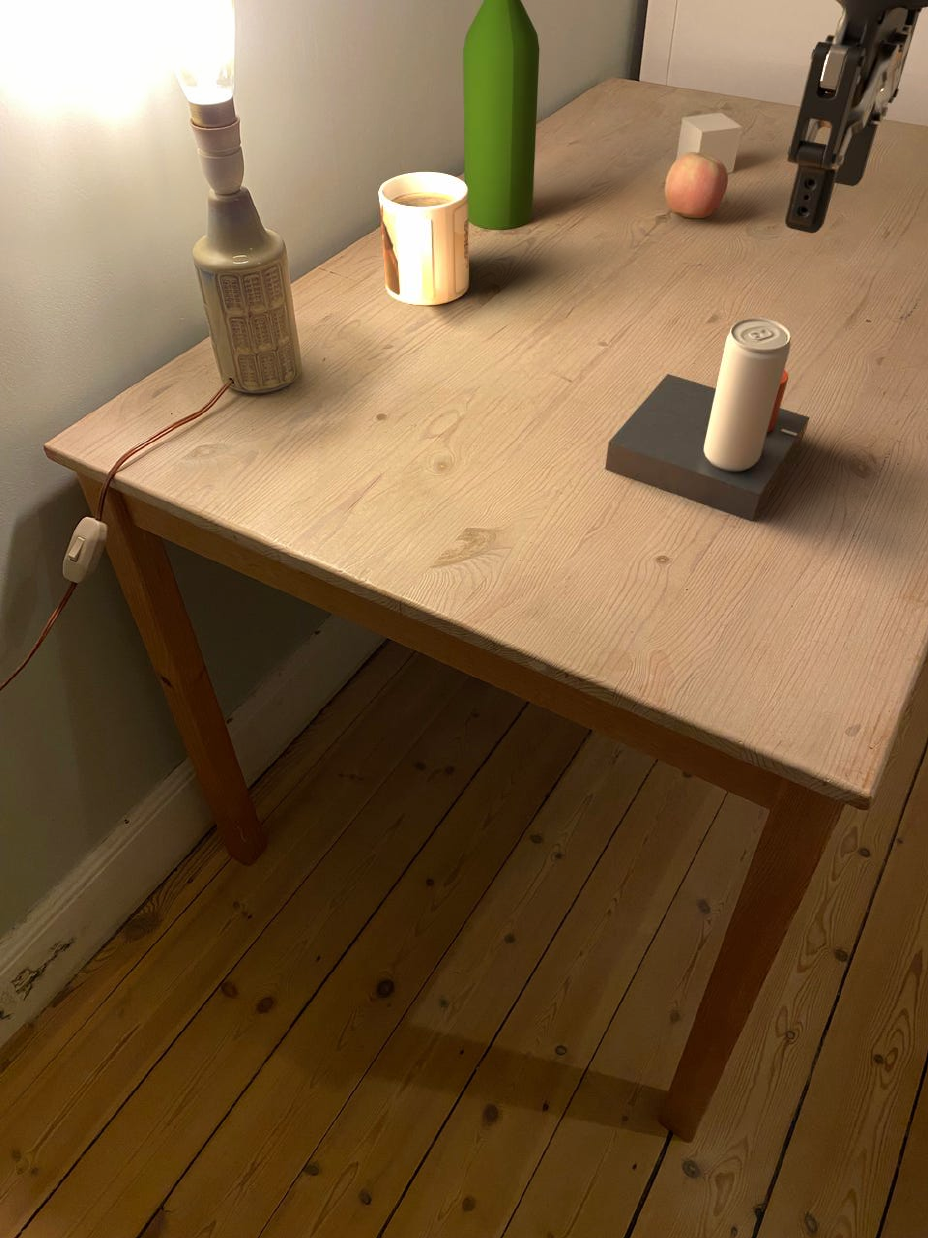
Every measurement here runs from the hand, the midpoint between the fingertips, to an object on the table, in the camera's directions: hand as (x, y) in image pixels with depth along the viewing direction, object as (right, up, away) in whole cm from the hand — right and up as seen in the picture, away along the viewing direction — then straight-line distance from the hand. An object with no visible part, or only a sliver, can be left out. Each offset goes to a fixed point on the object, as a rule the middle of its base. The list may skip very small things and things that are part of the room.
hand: (823, 204), depth 59 cm
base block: (-1, -12, +25) cm, 28 cm away
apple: (+6, +25, +60) cm, 66 cm away
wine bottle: (-19, +26, +61) cm, 69 cm away
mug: (-28, +12, +48) cm, 56 cm away
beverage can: (0, -13, +20) cm, 24 cm away
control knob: (+3, -9, +24) cm, 26 cm away
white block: (+11, +38, +72) cm, 82 cm away
